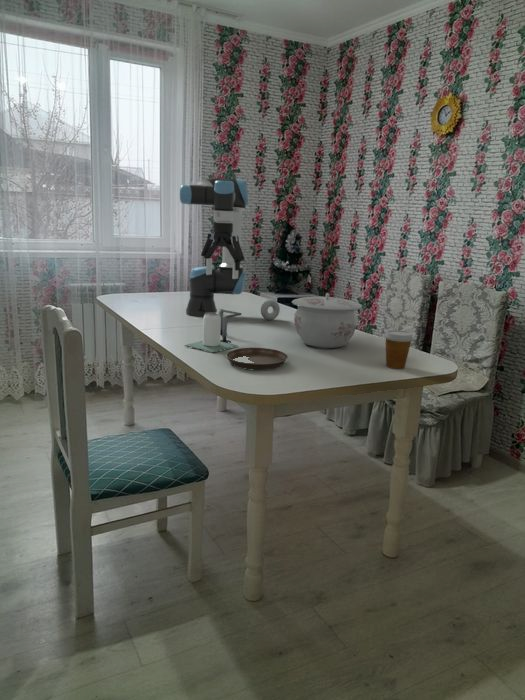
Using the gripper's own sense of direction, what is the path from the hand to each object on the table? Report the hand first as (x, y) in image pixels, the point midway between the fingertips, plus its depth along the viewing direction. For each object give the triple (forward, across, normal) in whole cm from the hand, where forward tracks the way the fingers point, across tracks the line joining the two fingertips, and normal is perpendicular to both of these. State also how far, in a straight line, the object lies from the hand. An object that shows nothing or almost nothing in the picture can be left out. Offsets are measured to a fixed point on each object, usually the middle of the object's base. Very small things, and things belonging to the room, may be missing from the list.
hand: (221, 276), depth 215 cm
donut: (+26, -5, +43) cm, 50 cm away
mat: (+24, +10, -18) cm, 31 cm away
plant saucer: (+23, +36, -25) cm, 50 cm away
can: (+23, +10, -18) cm, 31 cm away
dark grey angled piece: (+24, +4, -3) cm, 25 cm away
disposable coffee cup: (+23, +73, +6) cm, 77 cm away
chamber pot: (+24, +39, +17) cm, 49 cm away
